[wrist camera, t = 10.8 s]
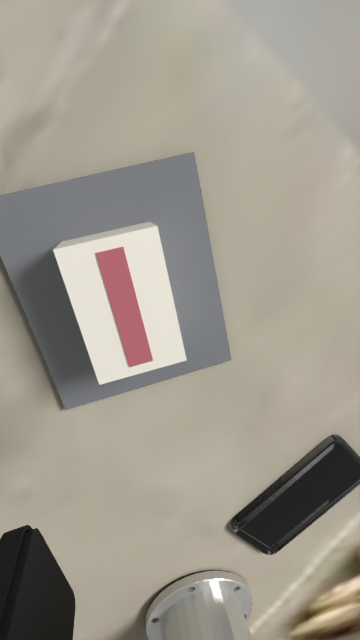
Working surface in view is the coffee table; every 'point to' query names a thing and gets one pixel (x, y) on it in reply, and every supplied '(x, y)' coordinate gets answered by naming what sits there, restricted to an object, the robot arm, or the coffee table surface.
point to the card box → (122, 300)
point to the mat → (100, 216)
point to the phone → (300, 496)
